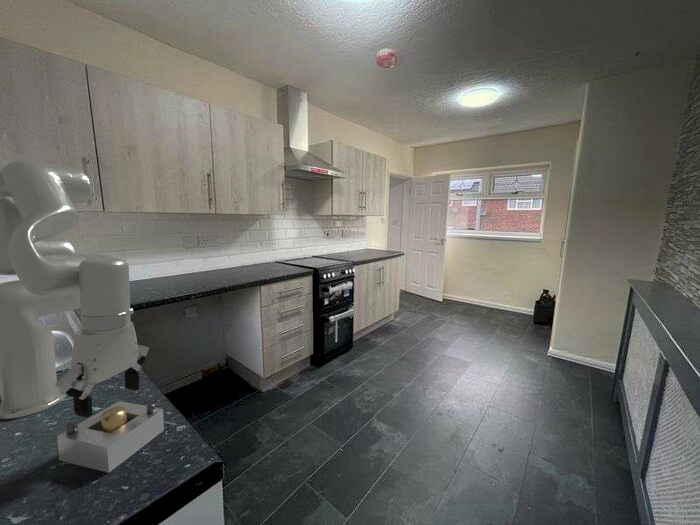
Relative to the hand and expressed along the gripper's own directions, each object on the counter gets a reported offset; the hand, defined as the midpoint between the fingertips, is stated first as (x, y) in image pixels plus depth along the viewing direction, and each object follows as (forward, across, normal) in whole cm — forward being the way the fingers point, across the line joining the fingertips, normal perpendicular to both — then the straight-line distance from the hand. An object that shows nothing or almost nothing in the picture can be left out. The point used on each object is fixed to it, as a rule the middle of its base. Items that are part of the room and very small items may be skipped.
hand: (109, 401), depth 60 cm
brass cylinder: (+9, 0, +1) cm, 9 cm away
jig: (+9, 0, +1) cm, 9 cm away
